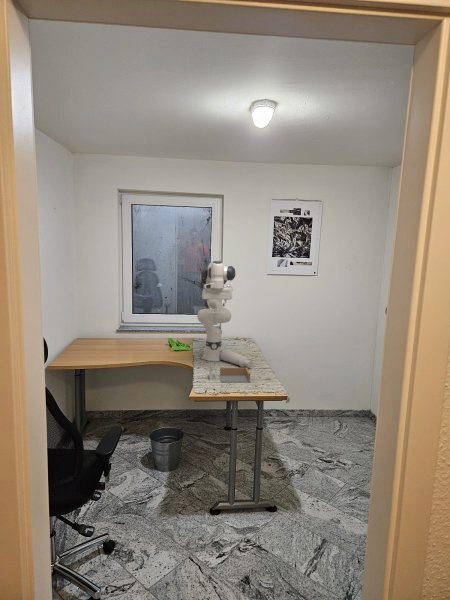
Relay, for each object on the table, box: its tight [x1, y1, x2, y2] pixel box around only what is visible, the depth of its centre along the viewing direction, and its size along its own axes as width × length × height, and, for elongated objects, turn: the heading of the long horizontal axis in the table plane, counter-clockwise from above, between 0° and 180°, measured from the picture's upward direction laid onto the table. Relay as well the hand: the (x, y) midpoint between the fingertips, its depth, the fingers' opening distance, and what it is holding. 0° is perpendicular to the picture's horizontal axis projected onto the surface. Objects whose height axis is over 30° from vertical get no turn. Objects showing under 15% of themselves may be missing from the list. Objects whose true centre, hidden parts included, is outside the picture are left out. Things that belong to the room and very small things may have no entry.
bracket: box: [208, 366, 217, 381], centre depth 232 cm, size 9×4×6 cm, turn 5°
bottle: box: [220, 348, 253, 369], centre depth 264 cm, size 9×9×30 cm
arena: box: [219, 367, 251, 384], centre depth 231 cm, size 13×18×6 cm
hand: (216, 306), depth 242 cm, fingers open, 8 cm apart
